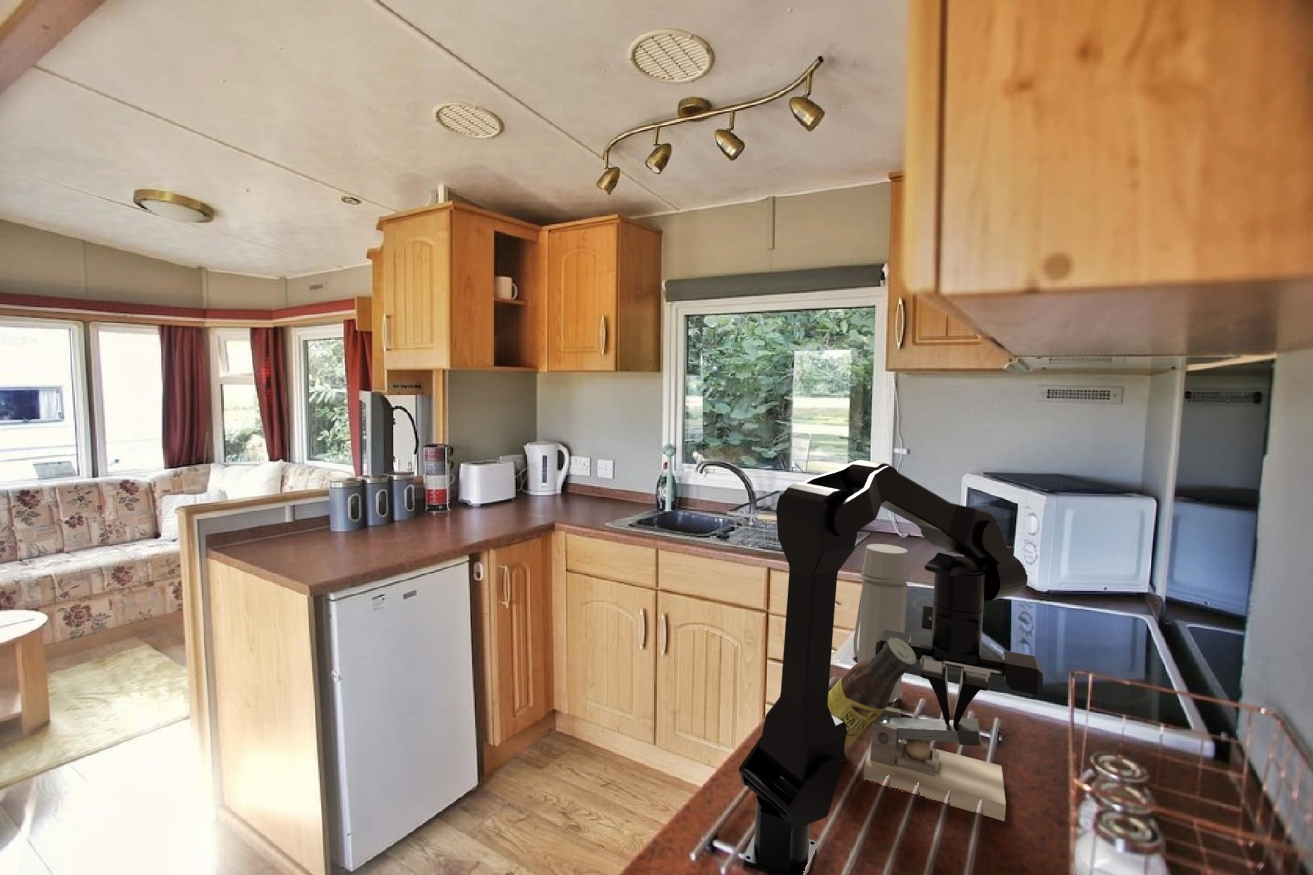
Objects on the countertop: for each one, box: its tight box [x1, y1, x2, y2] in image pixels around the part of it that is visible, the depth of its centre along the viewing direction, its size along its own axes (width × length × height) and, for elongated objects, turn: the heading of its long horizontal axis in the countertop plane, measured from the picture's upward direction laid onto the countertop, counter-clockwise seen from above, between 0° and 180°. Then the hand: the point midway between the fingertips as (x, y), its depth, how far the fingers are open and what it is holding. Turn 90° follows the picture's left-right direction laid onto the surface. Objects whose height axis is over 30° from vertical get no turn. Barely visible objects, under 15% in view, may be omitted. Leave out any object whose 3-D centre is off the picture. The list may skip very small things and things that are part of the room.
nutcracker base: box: [863, 706, 1007, 822], centre depth 81 cm, size 9×16×7 cm, turn 64°
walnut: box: [905, 739, 930, 762], centre depth 81 cm, size 3×3×3 cm
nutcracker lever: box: [880, 716, 982, 747], centre depth 81 cm, size 4×12×2 cm, turn 64°
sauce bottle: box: [828, 638, 917, 750], centre depth 82 cm, size 6×6×20 cm
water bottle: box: [853, 543, 910, 704], centre depth 104 cm, size 9×8×25 cm
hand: (951, 724), depth 79 cm, fingers closed
